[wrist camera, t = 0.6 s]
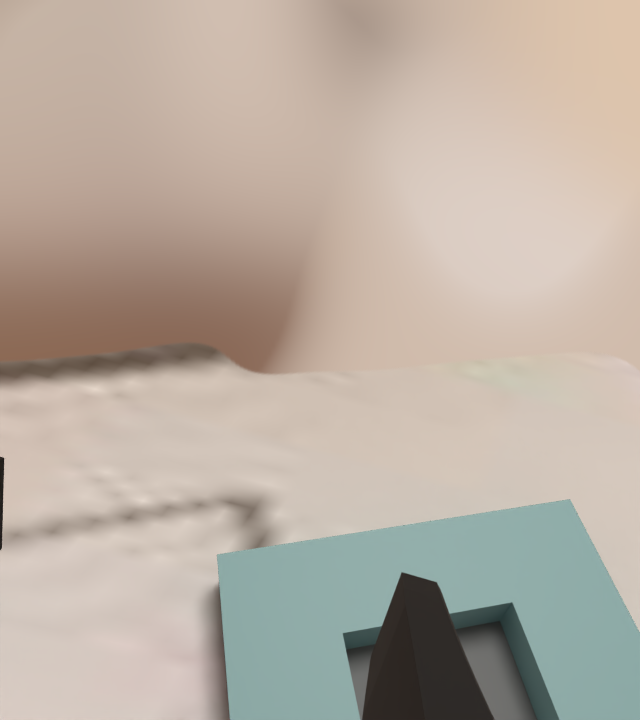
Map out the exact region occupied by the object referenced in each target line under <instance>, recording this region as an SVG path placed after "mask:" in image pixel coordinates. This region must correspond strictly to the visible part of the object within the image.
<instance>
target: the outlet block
mask: <svg viewBox="0 0 640 720" xmlns="http://www.w3.org/2000/svg"><path fill="white" fill-rule="evenodd" d="M217 561H218V574H219V586H220V599H221V612H222V625H223V637H224V650H225V663H226V676H227V689H228V701H229V714H230V720H362V716H363V708H364V701H365V693H366V686H367V679H368V672H369V665H370V658H371V654H372V652H373V649H374V646H375V644H376V641H377V638H378V635H379V633H380V630H381V627H382V624H383V622H384V619H385V616H386V613H387V611H388V608H389V605H390V603H391V600H392V597H393V594H394V592H395V589H396V586H397V583H398V581H399V578H400V575H401V572H403V573H407V574H410V575H414V576H417V577H421V578H424V579H428V580H431V581H435V582H437V584H438V585H439V587H440V589H441V592H442V594H443V597H444V600H445V603H446V606H447V608H448V611H449V614H450V616H451V619H452V622H453V624H454V627H455V629H456V632H457V635H458V637H459V640H460V642H461V644H462V647H463V649H464V652H465V654H466V657H467V659H468V662H469V664H470V666H471V669H472V671H473V673H474V675H475V678H476V680H477V682H478V684H479V686H480V689H481V691H482V693H483V695H484V698H485V700H486V702H487V704H488V706H489V709H490V711H491V713H492V715H493V717H494V719H495V720H640V632H639V630H638V629H637V627H636V625H635V623H634V621H633V619H632V617H631V615H630V613H629V611H628V609H627V608H626V606H625V604H624V602H623V600H622V598H621V596H620V594H619V592H618V590H617V588H616V587H615V585H614V583H613V581H612V579H611V577H610V575H609V573H608V571H607V569H606V567H605V566H604V564H603V562H602V560H601V558H600V556H599V554H598V552H597V550H596V548H595V546H594V544H593V543H592V541H591V539H590V537H589V535H588V533H587V531H586V529H585V527H584V525H583V523H582V522H581V520H580V518H579V516H578V514H577V512H576V510H575V508H574V506H573V504H572V502H571V501H570V499H569V500H562V501H556V502H549V503H543V504H537V505H530V506H524V507H518V508H511V509H505V510H498V511H492V512H486V513H479V514H473V515H467V516H460V517H454V518H447V519H441V520H435V521H428V522H422V523H416V524H409V525H403V526H396V527H390V528H384V529H377V530H371V531H365V532H358V533H352V534H345V535H339V536H333V537H326V538H320V539H314V540H307V541H301V542H294V543H288V544H282V545H275V546H269V547H263V548H256V549H250V550H243V551H237V552H231V553H224V554H218V555H217Z"/></svg>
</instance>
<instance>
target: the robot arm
mask: <svg viewBox="0 0 640 720" xmlns="http://www.w3.org/2000/svg"><path fill="white" fill-rule="evenodd" d="M3 482H4V458H3V457H0V550H1V549H2V520H3ZM362 720H495V719H494V717H493V715H492V713H491V711H490V709H489V706H488V704H487V702H486V700H485V698H484V695H483V693H482V691H481V689H480V686H479V684H478V682H477V680H476V678H475V675H474V673H473V671H472V669H471V666H470V664H469V662H468V659H467V657H466V654H465V652H464V649H463V647H462V644H461V642H460V640H459V637H458V635H457V632H456V629H455V627H454V624H453V622H452V619H451V616H450V614H449V611H448V608H447V606H446V603H445V600H444V597H443V594H442V592H441V589H440V587H439V585H438V584H437V582H435V581H431V580H428V579H424V578H421V577H417V576H414V575H410V574H407V573H403V572H401V575H400V578H399V581H398V583H397V586H396V589H395V592H394V594H393V597H392V600H391V603H390V605H389V608H388V611H387V613H386V616H385V619H384V622H383V624H382V627H381V630H380V633H379V635H378V638H377V641H376V644H375V646H374V649H373V652H372V654H371V658H370V665H369V672H368V679H367V686H366V693H365V701H364V708H363V716H362Z"/></svg>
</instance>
